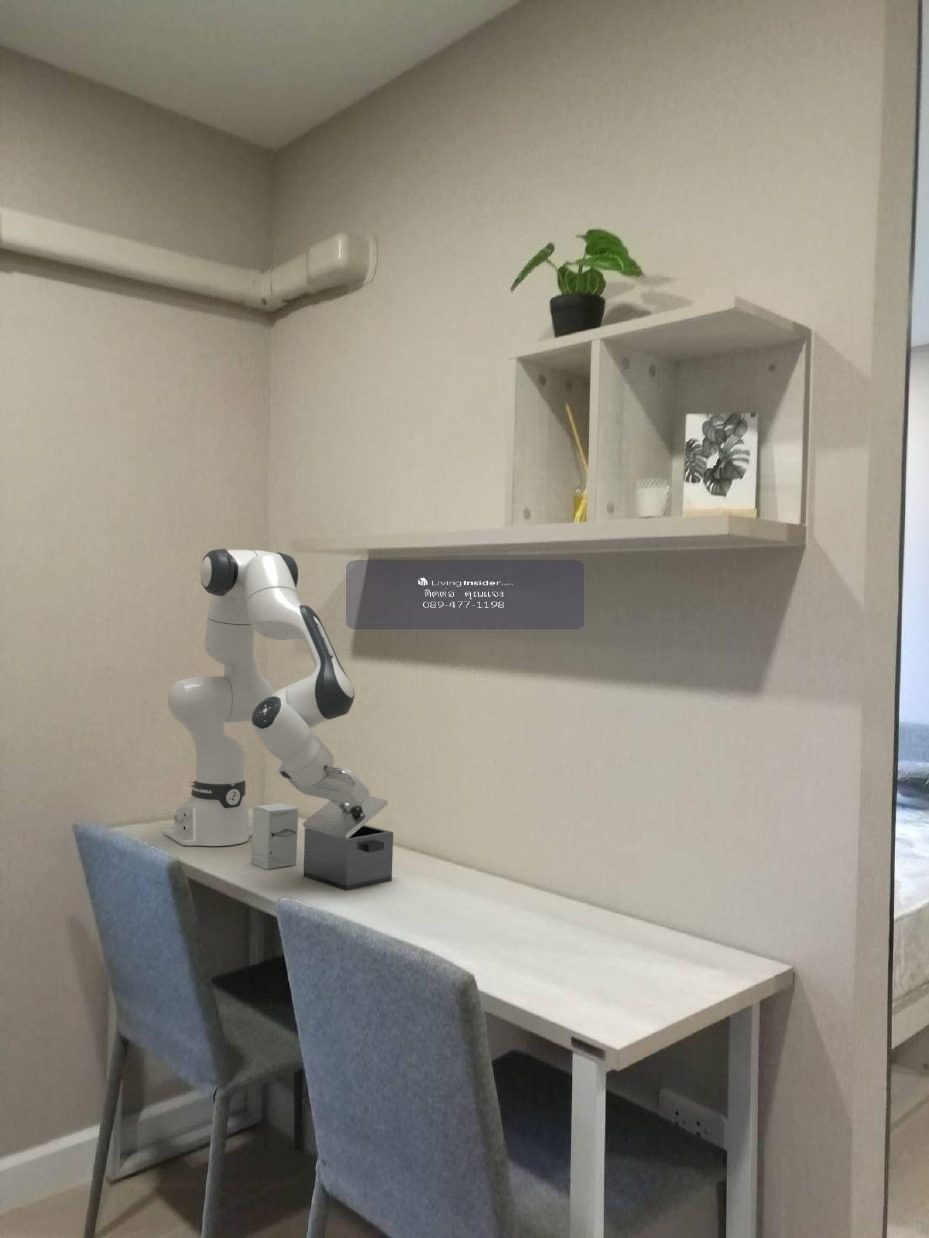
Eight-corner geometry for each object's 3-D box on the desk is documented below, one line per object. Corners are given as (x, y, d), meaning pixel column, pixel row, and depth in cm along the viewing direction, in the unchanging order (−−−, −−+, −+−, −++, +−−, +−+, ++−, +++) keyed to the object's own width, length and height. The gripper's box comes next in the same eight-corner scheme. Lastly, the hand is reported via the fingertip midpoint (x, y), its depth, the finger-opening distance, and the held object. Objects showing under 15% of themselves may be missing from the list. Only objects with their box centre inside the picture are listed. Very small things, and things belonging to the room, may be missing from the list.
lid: (304, 827, 204) (299, 816, 204) (344, 794, 212) (340, 784, 211) (347, 839, 195) (342, 828, 194) (388, 804, 202) (383, 793, 201)
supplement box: (266, 870, 208) (268, 810, 208) (250, 863, 214) (252, 804, 214) (297, 865, 213) (299, 807, 213) (280, 858, 219) (282, 801, 219)
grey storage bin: (298, 874, 206) (299, 826, 206) (343, 865, 214) (344, 819, 214) (352, 892, 194) (353, 841, 194) (397, 882, 202) (399, 833, 202)
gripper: (353, 757, 191) (390, 803, 197) (291, 747, 205) (328, 790, 212) (334, 782, 187) (372, 828, 194) (272, 770, 202) (310, 813, 209)
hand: (348, 808), depth 203 cm, fingers closed, pressing on lid
